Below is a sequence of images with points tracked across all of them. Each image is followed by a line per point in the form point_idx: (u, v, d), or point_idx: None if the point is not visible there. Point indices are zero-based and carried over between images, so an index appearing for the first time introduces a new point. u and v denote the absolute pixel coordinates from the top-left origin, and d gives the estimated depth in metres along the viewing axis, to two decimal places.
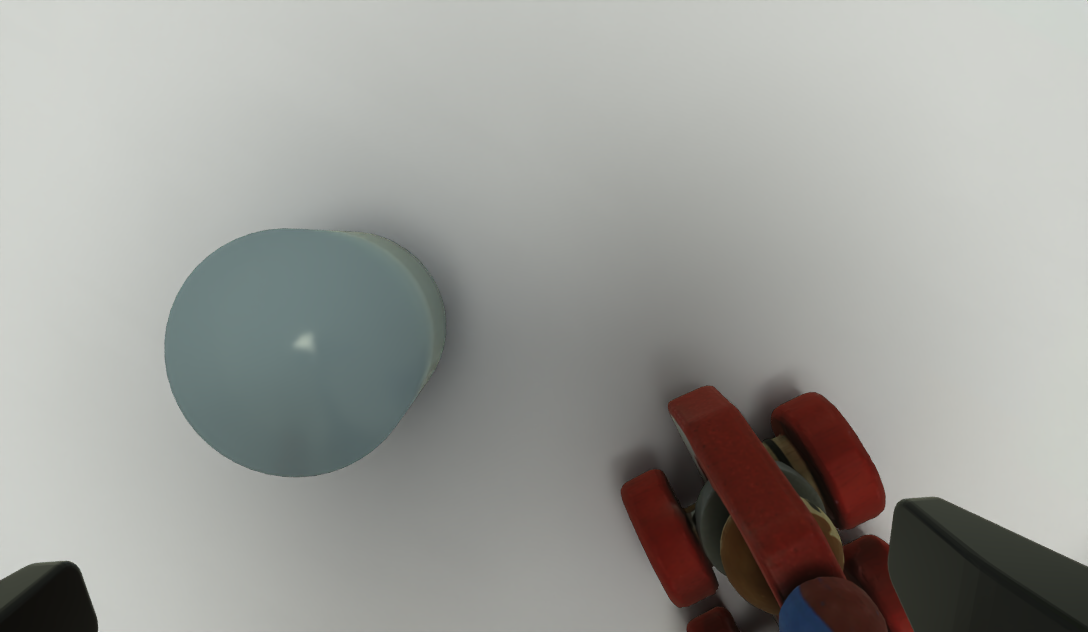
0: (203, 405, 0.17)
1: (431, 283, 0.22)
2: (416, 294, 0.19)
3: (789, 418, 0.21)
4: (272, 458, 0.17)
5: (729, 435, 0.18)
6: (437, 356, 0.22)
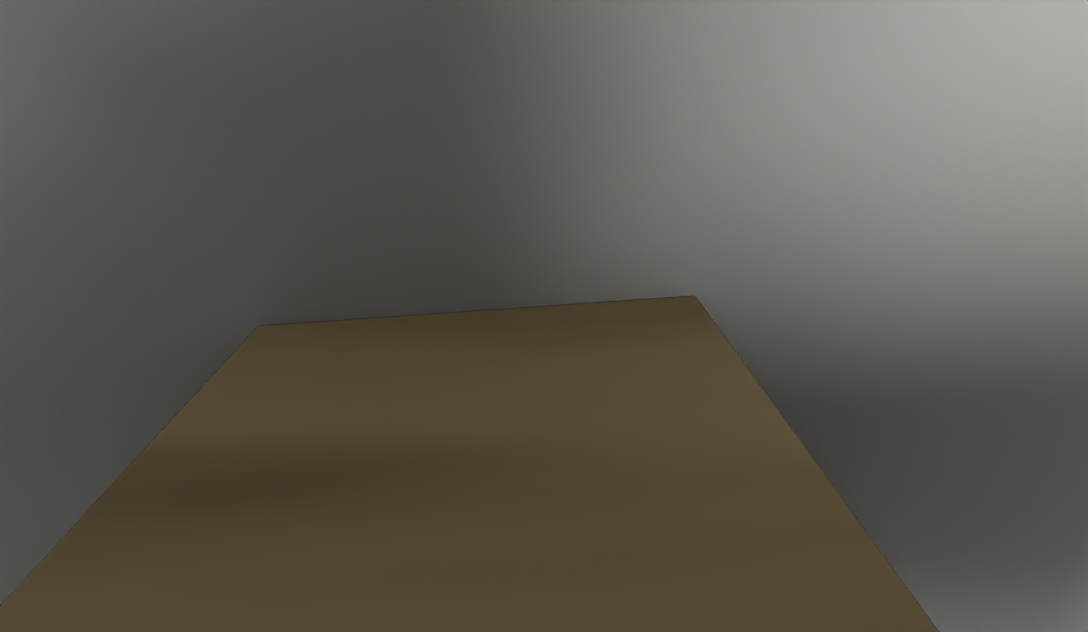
0: None
1: None
2: None
3: None
4: None
5: None
6: None
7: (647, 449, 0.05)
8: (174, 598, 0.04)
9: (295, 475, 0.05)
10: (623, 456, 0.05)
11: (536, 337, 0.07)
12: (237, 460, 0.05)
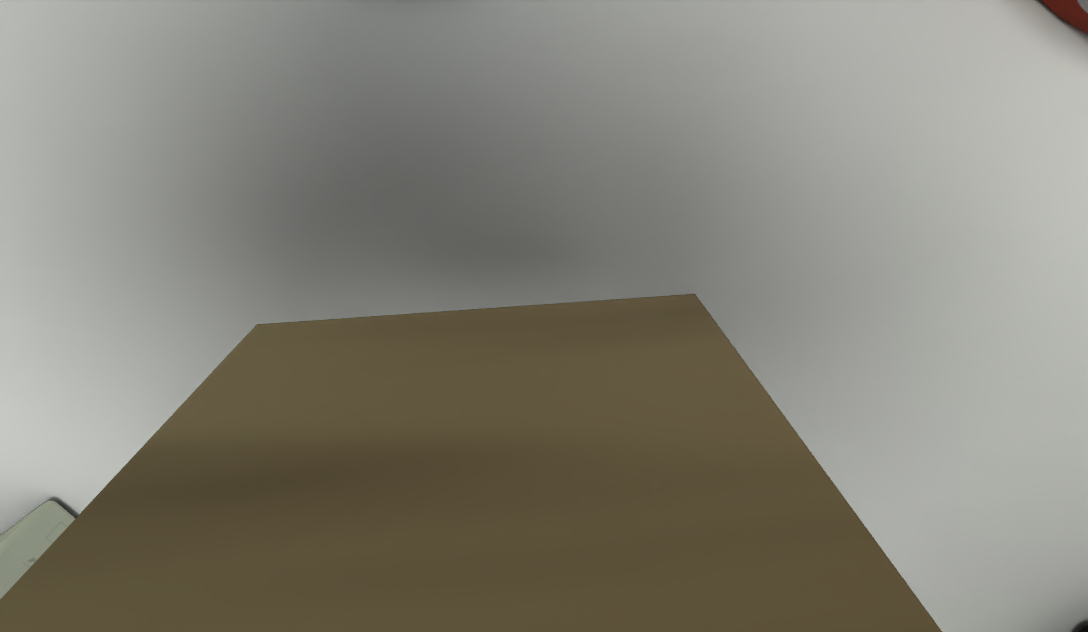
0: None
1: None
2: None
3: None
4: None
5: None
6: None
7: (646, 445, 0.05)
8: (171, 595, 0.04)
9: (292, 473, 0.05)
10: (622, 453, 0.05)
11: (536, 335, 0.07)
12: (235, 458, 0.05)
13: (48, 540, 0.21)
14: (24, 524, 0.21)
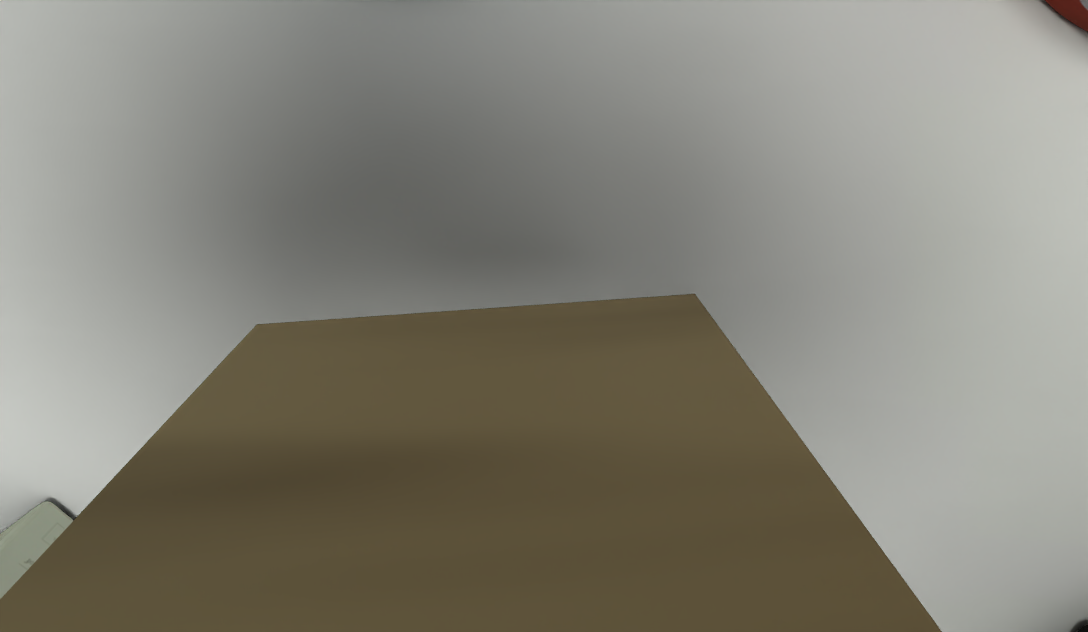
0: None
1: None
2: None
3: None
4: None
5: None
6: None
7: (646, 445, 0.05)
8: (171, 595, 0.04)
9: (292, 473, 0.05)
10: (622, 453, 0.05)
11: (535, 335, 0.07)
12: (235, 458, 0.05)
13: (44, 541, 0.21)
14: (20, 525, 0.20)
